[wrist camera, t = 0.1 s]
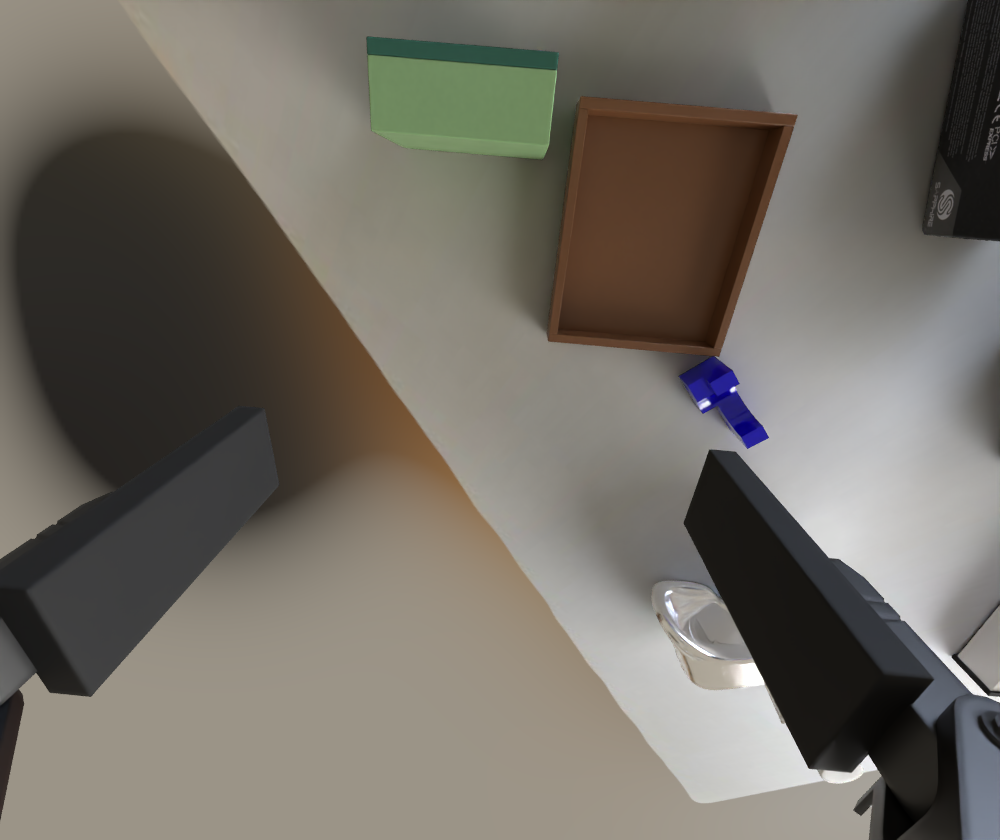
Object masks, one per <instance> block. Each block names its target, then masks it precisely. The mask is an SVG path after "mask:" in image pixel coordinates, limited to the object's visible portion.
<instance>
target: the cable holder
mask: <svg viewBox="0 0 1000 840" xmlns="http://www.w3.org/2000/svg"><path fill="white" fill-rule="evenodd" d="M678 377H679V378H680V380H681V381H682V383H683V385H684V386H685V388H686V390H687V391H688V393H689V395H690V396H691V398H692V400H693V401H694V403H695V405H696V406H697V408H698V409H699V410H700V411H701V412H702V413H705V412H707V411H709V410H711V409H712V408H714V407H716V408H717V410H718V411H719V413H720V415H721V416H722V418H723V420H724V422H725V423H726V425H727V427H728V428H729V430H730V431H731V432H732V433H733V434H734V435H735V436H736V437H737V438H738V439H739V440H740V441H741V442H742V443H743V445H744V446H745V447H746V448H747V449H748V448H750V447H752V446H754V445H756V444H758V443H760V442H762V441H764V440H766V439H768V438H769V437H768V435H767V433H766V431H765V430H764V428H763V426H762V425H761V424H760V423H759V422H758V421H757V420H756V419H755V417H754V416H753V415H752V414H751V412H750V411H749V410H748V408H747V407H746V406H745V404H744V403H743V401H742V400H741V398H740V396H739V394H738V393H737V391H736V388H735V386H736V385H738V384H739V382H738V380H737V378H736V376H735V374H734V373H733V371H732V370H731V369H730V368H729V367H727V366H726V365H725V364H723V363H722V362H721V361H719V360H718V359H717V358H716V357H714V356H712V357H710V358H709V359H707V360H705V361H704V362H702V363H700V364H699V365H697V366H695V367H693V368H692V369H690V370H688V371H687V372H685V373H683V374H682V375H680V376H678Z"/></svg>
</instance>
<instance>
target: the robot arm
mask: <svg viewBox="0 0 1000 840" xmlns="http://www.w3.org/2000/svg"><path fill="white" fill-rule="evenodd" d="M278 486H279V481H278V476H277V471H276V466H275V461H274V455H273V450H272V445H271V440H270V435H269V430H268V425H267V419H266V414H265V410H264V408H254V407H243V406H238V407H237V408H235V409H234V410H232V411H231V412H229V413H228V414H226V415H225V416H224V417H222V418H221V419H219V420H218V421H216V422H215V423H213V424H212V425H210V426H209V427H207V428H206V429H204V430H203V431H202V432H200V433H199V434H197V435H196V436H195V437H193V438H191V439H190V440H189V441H187V442H186V443H184V444H183V445H181V446H180V447H178V448H177V449H175V450H174V451H173V452H171V453H170V454H168V455H167V456H165V457H164V458H162V459H161V460H159V461H158V462H156V463H155V464H154V465H152V466H151V467H149V468H148V469H146V470H145V471H144V472H142V473H141V474H139V475H138V476H136V477H135V478H133V479H132V480H130V481H129V482H127V483H126V484H124V485H123V486H122V487H120V488H119V489H117V490H116V491H114V492H110V493H108V494H105V495H103V496H101V497H98V498H96V499H94V500H92V501H89V502H87V503H85V504H83V505H81V506H79V507H78V508H76V509H75V510H73V511H72V512H70V513H69V514H68V515H66V516H65V517H63V518H61V519H60V520H58V522H57V524H56V525H51V526H49V527H48V528H46V529H45V530H43V531H42V532H40V533H39V534H37V537H36V538H35V539H30V540H28V541H27V542H25V543H24V544H22V545H21V546H19V547H18V548H16V549H15V550H14V551H12V552H10V553H9V554H7V555H6V556H4V557H3V558H1V559H0V819H1V814H2V809H3V804H4V800H5V795H6V790H7V785H8V780H9V775H10V770H11V765H12V760H13V755H14V750H15V745H16V741H17V736H18V731H19V726H20V721H21V716H22V711H23V706H24V701H23V695H22V693H21V692H20V690H19V688H20V687H21V686H22V685H23V684H24V683H25V682H26V681H28V679H29V678H31V677H32V675H34V674H35V673H37V674H38V676H39V677H40V679H41V680H42V682H43V683H44V685H45V686H46V688H47V689H48V691H49V692H50V693H60V694H69V695H79V696H89V697H91V696H92V695H93V694H94V693H95V691H96V690H97V689H98V688H99V687H100V686H101V684H103V682H104V681H105V680H106V679H107V678H108V677H109V676H110V675H111V674H112V672H113V671H114V670H115V669H116V668H117V667H118V666H119V665H120V663H121V662H122V661H123V660H124V659H125V658H126V657H127V655H128V654H129V653H130V652H131V651H132V650H133V649H134V647H135V646H136V645H137V644H138V643H139V642H140V641H141V640H142V639H143V638H144V636H145V635H146V634H147V633H148V632H149V631H150V630H151V629H152V627H153V626H154V625H155V624H156V623H157V622H158V621H159V620H160V618H161V617H162V616H163V615H164V614H165V613H166V612H167V611H168V609H169V608H170V607H171V606H172V605H173V604H174V603H175V602H176V600H177V599H178V598H179V597H180V596H181V595H182V594H183V593H184V591H185V590H186V589H187V588H188V587H189V586H190V585H191V584H192V582H193V581H194V580H195V579H196V578H197V577H198V576H199V574H200V573H201V572H202V571H203V570H204V569H205V568H206V567H207V566H208V564H209V563H210V562H211V561H212V560H213V559H214V558H215V557H216V555H217V554H218V553H219V552H220V551H221V550H222V549H223V548H224V546H225V545H226V544H227V543H228V542H229V541H230V540H231V539H232V537H233V536H234V535H235V534H236V533H237V532H238V531H239V530H240V528H241V527H242V526H243V525H244V524H245V523H246V522H247V521H248V520H249V518H250V517H251V516H252V515H253V514H254V513H255V512H256V511H257V509H258V508H259V507H260V506H261V505H262V504H263V502H265V500H266V499H267V498H268V497H269V496H270V495H271V494H272V493H273V491H274V490H275V489H276V488H277V487H278ZM684 525H685V527H686V529H687V531H688V533H689V535H690V537H691V539H692V541H693V542H694V544H695V546H696V548H697V550H698V552H699V554H700V556H701V558H702V560H703V562H704V564H705V566H706V568H707V570H708V572H709V574H710V576H711V578H712V580H713V582H714V584H715V586H716V588H717V590H718V591H719V593H720V595H721V597H722V599H723V601H724V603H725V605H726V607H727V609H728V611H729V613H730V615H731V617H732V619H733V621H734V623H735V625H736V627H737V629H738V631H739V633H740V635H741V637H742V639H743V640H744V642H745V644H746V646H747V648H748V650H749V652H750V654H751V656H752V658H753V660H754V662H755V664H756V666H757V668H758V670H759V672H760V674H761V676H762V678H763V680H764V682H765V684H766V686H767V688H768V689H769V691H770V693H771V695H772V697H773V699H774V701H775V703H776V705H777V707H778V709H779V711H780V713H781V715H782V717H783V719H784V721H785V723H786V725H787V727H788V729H789V731H790V733H791V735H792V737H793V738H794V740H795V742H796V744H797V746H798V748H799V750H800V752H801V754H802V756H803V758H804V760H805V762H806V764H807V766H808V768H809V769H817V770H827V771H837V772H847V773H852V772H853V771H854V770H855V769H856V767H857V766H858V765H859V764H860V763H861V762H862V761H863V760H864V758H865V757H866V756H867V755H869V756H870V758H871V759H872V761H873V763H874V764H875V766H876V767H877V769H878V770H879V772H880V774H881V775H882V776H881V777H880V778H879V780H877V782H875V783H874V785H873V786H872V787H871V788H870V789H869V790H868V791H867V792H866V793H865V794H864V795H863V796H862V797H861V798H860V799H859V800H858V802H857V804H856V806H855V808H854V811H855V812H856V813H858V814H859V815H862V814H863V813H864V812H865V811H866V810H867V809H868V808H869V807H870V806H872V813H871V822H870V833H869V840H1000V703H999V702H997V701H994V700H992V699H990V698H987V697H983V696H978V695H973V694H972V693H971V692H970V691H969V690H968V689H967V688H966V687H965V686H964V685H963V684H962V683H961V681H960V680H959V679H958V678H957V677H956V676H955V675H954V674H953V673H952V672H951V671H950V670H949V669H948V667H947V666H946V665H945V664H944V663H943V662H942V661H941V660H940V659H939V658H938V657H937V656H936V654H935V653H934V652H933V651H932V650H931V649H930V648H929V647H928V646H927V645H926V644H925V643H924V642H923V640H922V639H921V638H920V637H919V636H918V635H917V634H916V633H915V632H914V631H913V630H912V629H911V627H910V626H909V625H908V624H907V623H906V622H905V621H901V620H900V616H899V615H898V613H897V612H896V611H895V610H894V609H893V608H892V607H891V606H890V605H889V604H888V603H885V602H884V598H883V597H882V596H881V595H880V594H879V593H878V592H877V591H876V590H875V589H874V588H873V586H872V585H871V584H870V583H869V582H868V581H867V580H866V579H865V578H864V577H863V576H861V575H860V574H859V573H857V572H856V571H854V570H853V569H852V568H850V567H849V566H848V565H846V564H845V563H843V562H842V561H841V560H839V559H832V558H828V557H827V555H826V554H825V553H824V552H823V551H822V550H821V549H820V547H819V546H818V545H817V544H816V543H815V542H814V541H813V539H812V538H811V537H810V536H809V535H808V534H807V533H806V531H805V530H804V529H803V528H802V527H801V526H800V525H799V523H798V522H797V521H796V520H795V519H794V518H793V517H792V515H791V514H790V513H789V512H788V511H787V510H786V509H785V507H784V506H783V505H782V504H781V503H780V502H779V501H778V500H777V498H776V497H775V496H774V495H773V494H772V493H771V492H770V490H769V489H768V488H767V487H766V486H765V485H764V484H763V482H762V481H761V480H760V479H759V478H758V477H757V476H756V474H755V473H754V472H753V471H752V470H751V469H750V468H749V466H748V465H747V464H746V463H745V462H744V461H743V460H742V458H741V457H740V456H739V455H738V454H737V453H736V452H732V451H721V450H710V449H709V452H708V455H707V458H706V461H705V464H704V466H703V469H702V472H701V475H700V478H699V481H698V483H697V486H696V489H695V492H694V495H693V498H692V501H691V503H690V506H689V509H688V512H687V515H686V518H685V520H684Z"/></svg>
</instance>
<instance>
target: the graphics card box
mask: <svg viewBox="0 0 1000 840" xmlns="http://www.w3.org/2000/svg"><path fill="white" fill-rule="evenodd" d="M923 233H924V234H925V235H933V236H944V237H952V238H963V239H977V240H986V241H988V240H991V241H1000V0H968V4H967V9H966V14H965V18H964V23H963V31H962V34H961V38H960V44H959V48H958V53H957V58H956V65H955V68H954V75H953V79H952V84H951V91H950V94H949V99H948V104H947V108H946V114H945V119H944V124H943V128H942V133H941V138H940V145H939V148H938V153H937V158H936V164H935V169H934V173H933V178H932V183H931V189H930V193H929V199H928V203H927V207H926V214H925V219H924V222H923Z"/></svg>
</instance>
